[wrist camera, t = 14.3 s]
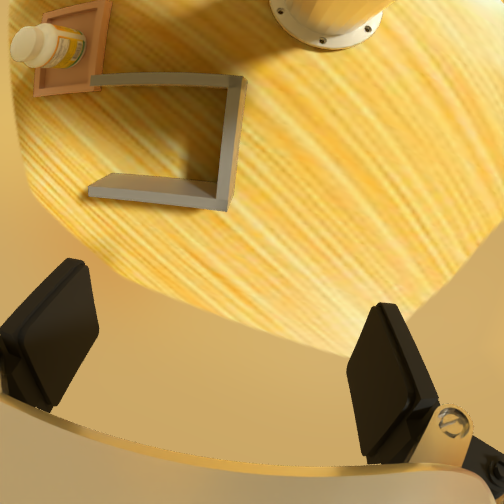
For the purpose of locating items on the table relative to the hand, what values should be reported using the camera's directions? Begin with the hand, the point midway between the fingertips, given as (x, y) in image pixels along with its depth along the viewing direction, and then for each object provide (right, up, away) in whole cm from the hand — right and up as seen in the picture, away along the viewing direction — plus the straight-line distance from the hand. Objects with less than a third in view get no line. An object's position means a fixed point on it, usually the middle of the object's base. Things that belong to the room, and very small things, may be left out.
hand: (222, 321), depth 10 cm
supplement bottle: (-21, +27, +19) cm, 40 cm away
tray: (-22, +28, +19) cm, 40 cm away
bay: (-8, +16, +24) cm, 30 cm away
